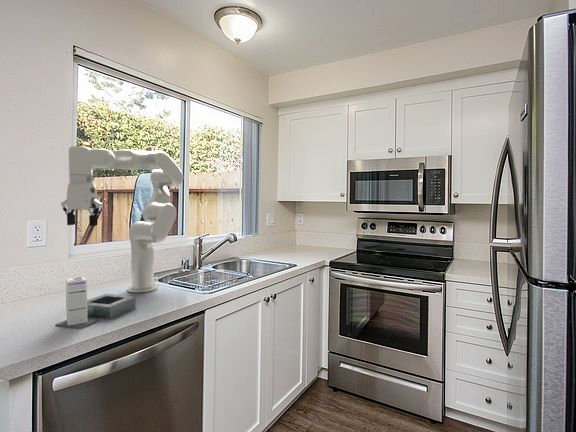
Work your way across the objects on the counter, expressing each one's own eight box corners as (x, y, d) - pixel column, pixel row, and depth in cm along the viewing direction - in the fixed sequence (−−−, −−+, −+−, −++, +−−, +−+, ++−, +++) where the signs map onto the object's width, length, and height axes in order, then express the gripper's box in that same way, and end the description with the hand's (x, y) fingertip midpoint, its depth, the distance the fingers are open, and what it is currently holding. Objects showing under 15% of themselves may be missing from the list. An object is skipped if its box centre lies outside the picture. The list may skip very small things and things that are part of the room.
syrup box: (88, 322, 111) (87, 279, 110) (66, 326, 107) (66, 281, 106) (86, 317, 115) (86, 276, 115) (65, 320, 112) (65, 278, 111)
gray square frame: (105, 305, 131) (105, 293, 131) (135, 308, 128) (135, 296, 128) (77, 316, 118) (76, 303, 118) (109, 320, 115) (109, 307, 115)
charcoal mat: (75, 317, 116) (75, 316, 116) (100, 320, 114) (100, 318, 114) (55, 325, 109) (55, 324, 109) (81, 329, 107) (81, 327, 107)
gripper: (108, 180, 128) (109, 225, 129) (69, 180, 131) (71, 223, 132) (93, 179, 120) (94, 226, 121) (52, 179, 124) (54, 225, 125)
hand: (82, 225), depth 127 cm, fingers open, 9 cm apart
